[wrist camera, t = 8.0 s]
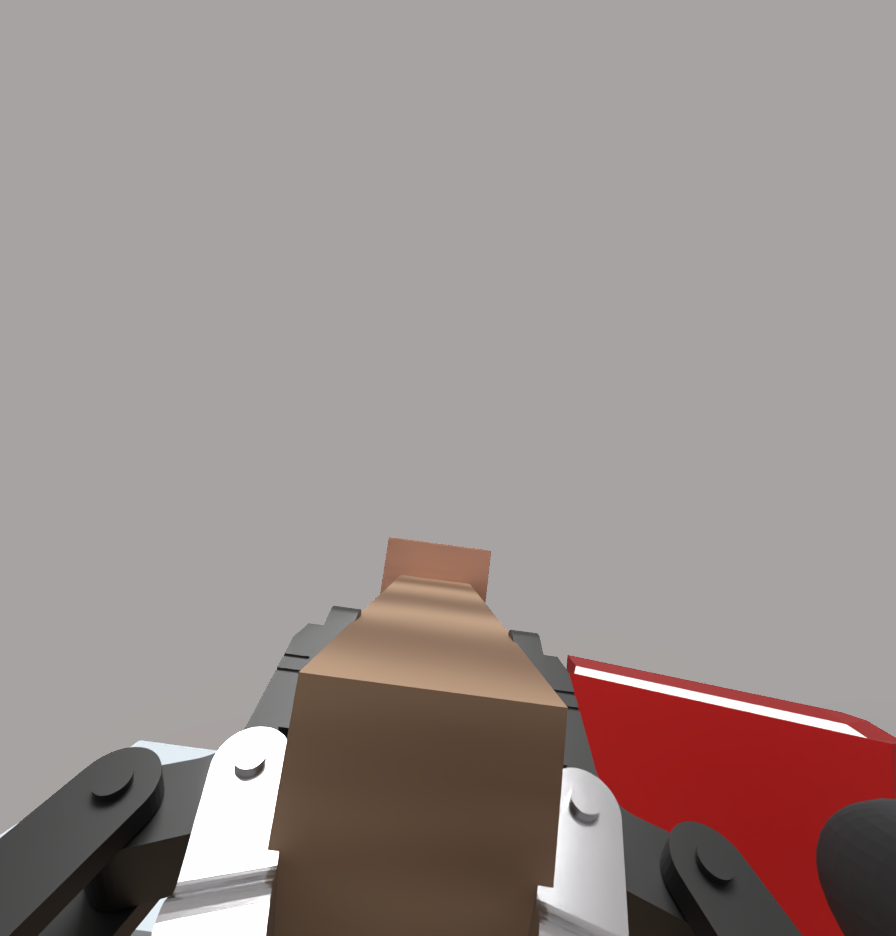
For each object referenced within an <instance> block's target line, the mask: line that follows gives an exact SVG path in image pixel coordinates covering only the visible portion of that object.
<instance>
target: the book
mask: <svg viewBox="0 0 896 936" xmlns="http://www.w3.org/2000/svg"><path fill="white" fill-rule="evenodd" d="M567 671H568V673H569V674H570V678H571V681H572V685H573V689H574V696H576V699H577V703H578V707H579V712H580V714H581V718H582V721H583V725H584V729H585V732H586V736H587V739H588V743H589V747H590V750H591V754H592V758H593V761H594V765H595V768H596V772H597V775H598V777H599V779H600V780H601V781H602V782H603V783H604V784H605V785H606V786H607V787H608V788H609V789H610V791H611V792H612V793H613V795H614V797H615V798H616V800H617V803H618V804H619V805H620V806H621V807H622V808H623V809H625V810H626V811H628V812H629V813H631V814H633V815H634V816H636V817H638V818H640V819H642V820H644V821H647V822H649V823H651V824H653V825H655V826H657V827H659V828H661V829H664V830H666V831H668V832H670V833H671V831H672V830H673V828H674V827H675V826H676V825H677V824H679V823H681V822H686V821H692V822H697V823H701V824H704V825H706V826H708V827H710V828H712V829H714V830H715V831H717V832H718V833H720V834H721V835H722V836H724V837H725V838H726V839H727V840H728V841H729V842H730V843H731V844H732V845H733V846H734V847H735V848H736V849H737V850H738V851H739V852H740V854H741V855H742V856H743V857H744V859H745V860H746V861H747V863H748V864H749V865H750V867H751V868H752V869H753V871H754V872H755V873H756V874H757V876H758V877H759V878H760V880H761V881H762V882H763V884H764V885H765V886H766V888H767V889H768V890H769V892H770V893H771V894H772V896H773V897H774V898H775V900H776V901H777V902H778V904H779V905H780V906H781V908H782V909H783V910H784V911H785V913H786V914H787V915H788V917H789V918H790V919H791V921H792V922H793V923H794V925H795V926H796V927H797V929H798V930H799V931H800V933H801V934H802V935H803V936H844V934H843V932H842V931H841V929H840V927H839V925H838V923H837V921H836V919H835V918H834V916H833V914H832V912H831V910H830V908H829V906H828V903H827V900H826V898H825V895H824V892H823V890H822V887H821V884H820V880H819V876H818V871H817V865H816V847H817V842H818V838H819V834H820V831H821V830H822V828H823V826H824V825H825V823H826V821H827V820H828V819H829V818H830V817H831V816H832V815H833V814H834V813H836V812H837V811H838V810H840V809H841V808H843V807H845V806H847V805H850V804H853V803H857V802H862V801H867V800H873V799H879V798H888V799H896V738H895V737H893V736H892V735H890V734H888V733H887V732H885V731H883V730H882V729H880V728H878V727H876V726H875V725H873V724H871V723H870V722H868V721H866V720H863V719H860V718H857V717H854V716H851V715H848V714H845V713H842V712H837V711H833V710H828V709H823V708H818V707H813V706H808V705H804V704H799V703H794V702H789V701H785V700H780V699H775V698H770V697H766V696H761V695H756V694H751V693H746V692H742V691H737V690H732V689H727V688H722V687H718V686H713V685H708V684H703V683H698V682H694V681H689V680H684V679H679V678H675V677H670V676H665V675H660V674H656V673H650V672H646V671H641V670H636V669H632V668H627V667H622V666H617V665H613V664H607V663H603V662H598V661H593V660H589V659H584V658H579V657H574V656H569V655H568V659H567Z"/></svg>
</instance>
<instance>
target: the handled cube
mask: <svg viewBox="0 0 896 936" xmlns="http://www.w3.org/2000/svg"><path fill="white" fill-rule="evenodd" d="M490 557H491V551H487V550H482V549H475V548H467V547H459V546H452V545H444V544H438V543H430V542H423V541H415V540H407V539H399V538H389V540H388V547H387V553H386V560H385V567H384V573H383V579H382V586H381V593H380V595H379V596H378V597H377V598H376V599H375V600H374V601H373V602H372V603H371V604H370V605H369V606H368V607H367V608H365V610H364V611H362V612H361V616H360V617H359V618H358V619H357V620H356V621H352V622H351V623H350V624H349V625H348V626H347V627H346V628H345V629H343V630H342V631H341V632H340V633H339V634H338V635H337V636H336V637H335V638H334V639H333V640H332V641H331V642H330V643H329V644H328V645H327V646H326V647H325V648H324V649H323V650H321V651H320V652H319V653H318V654H317V655H316V656H315V657H314V658H313V659H312V660H311V661H310V662H309V663H308V664H307V665H306V666H305V667H304V668H303V669H302V670H300V671H299V674H298V679H297V685H296V690H295V696H294V702H293V707H292V713H291V719H290V724H289V730H288V735H287V741H286V747H285V752H284V758H283V763H282V769H281V775H280V780H279V786H278V792H277V797H276V803H275V808H274V814H273V820H272V825H271V831H270V836H269V842H268V848H267V850H270V851H278V852H279V857H278V875H277V893H276V910H275V930H274V936H528V931H529V926H530V922H531V917H532V912H533V907H534V902H535V897H536V892H537V887H538V886H546V887H553V888H554V875H555V863H556V850H557V838H558V825H559V813H560V800H561V788H562V775H563V763H564V750H565V738H566V725H567V713H568V707H567V706H566V705H565V704H564V702H563V701H562V700H561V698H560V697H559V696H558V695H557V693H556V692H555V691H554V690H553V688H552V687H551V686H550V685H549V683H548V682H547V681H546V680H545V678H544V677H543V676H542V674H541V673H540V672H539V671H538V669H537V668H536V667H535V666H534V664H533V663H532V662H531V661H530V659H529V658H528V657H527V656H526V654H525V653H524V652H523V650H522V649H521V648H520V647H519V645H518V644H517V643H516V642H513V641H512V639H511V638H510V637H509V635H508V632H507V630H506V629H505V628H504V626H503V625H502V624H501V623H500V622H499V620H498V619H497V618H496V616H495V615H494V614H493V613H492V611H491V610H490V609H489V608H488V606H487V605H486V604H485V601H486V600H485V599H486V592H487V582H488V574H489V566H490Z"/></svg>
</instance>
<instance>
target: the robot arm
mask: <svg viewBox="0 0 896 936" xmlns="http://www.w3.org/2000/svg"><path fill="white" fill-rule="evenodd" d="M360 616H361V610H360V609H352V608H346V607H338V606H333V607H332V609H331V611H330V613H329V615H328V617H327V619H326V622H325V624H324V625H316V624H308V625H307V626H305V627H304V628H303V629H302V630H301V631H300V632H298V633H297V634H296V635H295V636H294V637H293V638H292V640H291V642H290V644H289V646H288V648H287V650H286V652H285V655H284V657H282V659H281V661H280V663H279V665H278V667H277V671H275V673H274V675H273V677H272V678H271V680H270V682H269V684H268V686H267V688H266V690H265V692H264V694H263V696H262V697H261V699H260V701H259V703H258V705H257V707H256V709H255V711H254V713H253V714H252V716H251V718H250V720H249V722H248V724H247V726H246V727H245V729H244V730H243V731H242V732H239V733H237V734H236V735H234V736H232V737H231V738H230V739H228V740H227V741H226V742H225V743H224V744H223V745H222V746H221V747H220V748H219V750H218V751H217V752H215V753H213V754H211V755H208V756H205V757H201V758H197V759H192V760H187V761H181V762H176V763H170V764H165V765H162V764H161V761H160V758H159V757H158V755H157V754H156V753H155V752H154V751H152V750H150V749H148V748H143V747H129V748H124V749H120V750H117V751H114V752H111V753H109V754H107V755H105V756H103V757H101V758H100V759H98V760H96V761H95V762H93V763H92V764H91V765H90V766H88V767H87V768H85V769H84V770H83V771H82V772H80V773H79V774H78V775H77V776H76V777H75V778H73V779H72V780H71V781H69V782H68V783H67V784H66V785H64V786H63V787H62V788H61V789H60V790H58V791H57V792H56V793H55V794H53V795H52V796H51V797H50V798H49V799H48V800H46V801H45V802H44V803H43V804H41V805H40V806H39V807H38V808H36V809H35V810H34V811H33V812H31V813H30V814H29V815H28V816H27V817H25V818H24V819H23V820H22V821H20V822H19V823H18V824H17V825H16V826H14V827H13V828H12V829H11V830H9V831H8V832H7V833H6V834H5V835H3V836H2V837H1V838H0V936H131V934H132V933H133V932H134V931H135V930H136V928H137V927H138V926H139V925H140V923H141V922H142V921H143V920H144V918H145V917H146V916H147V915H148V914H149V912H150V911H151V910H152V909H153V907H154V906H155V905H156V904H157V903H158V901H159V900H160V899H162V898H166V897H168V898H167V899H166V900H165V901H164V903H163V905H162V907H161V909H160V911H159V914H158V916H157V919H156V922H155V925H154V928H153V931H152V934H151V936H274V930H275V910H276V893H277V875H278V857H279V852H278V851H270V850H267V848H268V842H269V836H270V831H271V825H272V820H273V814H274V808H275V803H276V797H277V792H278V786H279V780H280V775H281V769H282V763H283V758H284V752H285V747H286V741H287V735H288V730H289V724H290V719H291V713H292V707H293V702H294V696H295V690H296V685H297V679H298V674H299V671H300V670H302V669H303V668H304V667H305V666H306V665H307V664H308V663H309V662H310V661H311V660H312V659H313V658H314V657H315V656H316V655H317V654H318V653H319V652H320V651H321V650H323V649H324V648H325V647H326V646H327V645H328V644H329V643H330V642H331V641H332V640H333V639H334V638H335V637H336V636H337V635H338V634H339V633H340V632H341V631H342V630H343V629H345V628H346V627H347V626H348V625H349V624H350V623H351V622H352V621H356V620H357V619H358V618H359V617H360ZM508 635H509V637H510V638H511V639H512V641H513V642H516V643H517V644H518V645H519V647H520V648H521V649H522V650H523V652H524V653H525V654H526V656H527V657H528V658H529V659H530V661H531V662H532V663H533V664H534V666H535V667H536V668H537V669H538V671H539V672H540V673H541V674H542V676H543V677H544V678H545V680H546V681H547V682H548V683H549V685H550V686H551V687H552V688H553V690H554V691H555V692H556V693H557V695H558V696H559V697H560V698H561V700H562V701H563V702H564V704H565V705H566V706H567V707H568V713H567V725H566V738H565V750H564V763H563V775H562V788H561V800H560V813H559V825H558V838H557V850H556V863H555V875H554V888H553V887H546V886H538V887H537V892H536V897H535V902H534V907H533V912H532V917H531V922H530V926H529V931H528V936H803V935H802V934H801V933H800V931H799V930H798V929H797V927H796V926H795V925H794V923H793V922H792V921H791V919H790V918H789V917H788V915H787V914H786V913H785V911H784V910H783V909H782V908H781V906H780V905H779V904H778V902H777V901H776V900H775V898H774V897H773V896H772V894H771V893H770V892H769V890H768V889H767V888H766V886H765V885H764V884H763V882H762V881H761V880H760V878H759V877H758V876H757V874H756V873H755V872H754V871H753V869H752V868H751V867H750V865H749V864H748V863H747V861H746V860H745V859H744V857H743V856H742V855H741V854H740V852H739V851H738V850H737V849H736V848H735V847H734V846H733V845H732V844H731V843H730V842H729V841H728V840H727V839H726V838H725V837H724V836H722V835H721V834H720V833H718V832H717V831H715V830H714V829H712V828H710V827H708V826H706V825H704V824H701V823H697V822H692V821H686V822H681V823H679V824H677V825H676V826H675V827H674V828H673V830H672V831H671V833H670V832H668V831H666V830H664V829H661V828H659V827H657V826H655V825H653V824H651V823H649V822H647V821H644V820H642V819H640V818H638V817H636V816H634V815H633V814H631V813H629V812H628V811H626V810H625V809H623V808H622V807H621V806H620V805H619V804H618V803H617V800H616V798H615V797H614V795H613V793H612V792H611V791H610V789H609V788H608V787H607V786H606V785H605V784H604V783H603V782H602V781H601V780H600V779H599V777H598V775H597V772H596V768H595V765H594V761H593V758H592V754H591V750H590V747H589V743H588V739H587V736H586V732H585V729H584V725H583V721H582V718H581V714H580V712H579V707H578V703H577V699H576V696H574V689H573V685H572V681H571V678H570V674H569V673H568V671H567V670H566V669H565V667H564V666H563V664H562V663H561V662H560V660H559V659H558V657H554V656H546V655H543V651H542V647H541V642H540V638H539V635H538V634H537V633H529V632H523V631H515V630H510V631H509V633H508ZM816 865H817V871H818V876H819V880H820V884H821V887H822V890H823V892H824V895H825V898H826V900H827V903H828V906H829V908H830V910H831V912H832V914H833V916H834V918H835V919H836V921H837V923H838V925H839V927H840V929H841V931H842V932H843V934H844V936H896V799H888V798H879V799H873V800H867V801H862V802H857V803H853V804H850V805H847V806H845V807H843V808H841V809H840V810H838V811H837V812H836V813H834V814H833V815H832V816H831V817H830V818H829V819H828V820H827V821H826V823H825V825H824V826H823V828H822V830H821V831H820V834H819V838H818V842H817V847H816ZM170 896H171V897H170Z"/></svg>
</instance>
